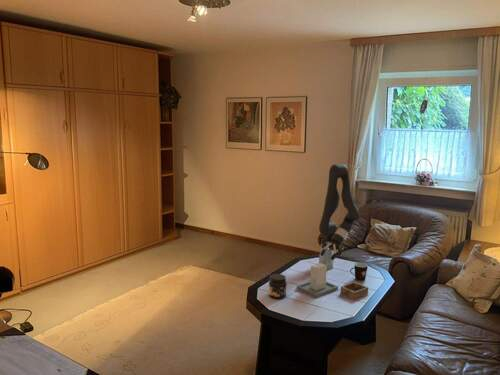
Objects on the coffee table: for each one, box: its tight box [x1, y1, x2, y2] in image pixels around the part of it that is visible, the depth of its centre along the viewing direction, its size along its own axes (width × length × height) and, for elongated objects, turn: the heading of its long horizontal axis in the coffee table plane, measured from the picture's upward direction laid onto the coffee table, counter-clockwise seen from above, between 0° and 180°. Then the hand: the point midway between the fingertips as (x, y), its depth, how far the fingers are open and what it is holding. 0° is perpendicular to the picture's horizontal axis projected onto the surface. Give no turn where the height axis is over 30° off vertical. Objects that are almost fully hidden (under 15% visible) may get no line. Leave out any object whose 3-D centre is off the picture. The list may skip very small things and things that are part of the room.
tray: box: [296, 281, 339, 299], centre depth 251 cm, size 16×20×2 cm
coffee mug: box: [349, 262, 369, 282], centre depth 268 cm, size 12×9×10 cm
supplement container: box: [268, 273, 288, 300], centre depth 240 cm, size 10×10×12 cm
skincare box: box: [310, 262, 328, 291], centre depth 250 cm, size 8×6×15 cm
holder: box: [340, 281, 369, 300], centre depth 245 cm, size 11×13×4 cm
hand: (326, 257), depth 253 cm, fingers open, 8 cm apart
